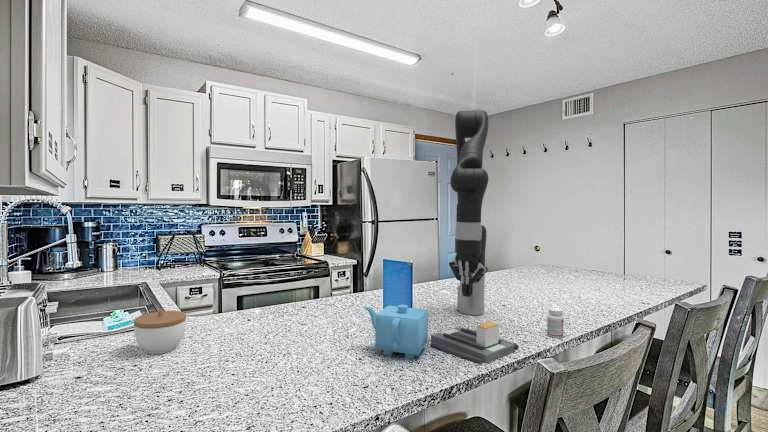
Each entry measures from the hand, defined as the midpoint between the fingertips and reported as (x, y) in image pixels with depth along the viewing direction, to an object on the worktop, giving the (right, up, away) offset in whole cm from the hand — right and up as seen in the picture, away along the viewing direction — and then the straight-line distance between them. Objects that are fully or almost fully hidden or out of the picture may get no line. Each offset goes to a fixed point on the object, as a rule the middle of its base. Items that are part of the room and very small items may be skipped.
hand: (467, 296), depth 117 cm
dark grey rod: (+8, -14, +5) cm, 17 cm away
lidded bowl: (-86, -14, -6) cm, 88 cm away
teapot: (-22, -15, -4) cm, 27 cm away
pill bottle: (+30, -15, +9) cm, 34 cm away
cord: (-5, -15, -7) cm, 17 cm away
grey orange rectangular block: (+5, -12, -6) cm, 14 cm away
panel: (+1, -14, -1) cm, 14 cm away
